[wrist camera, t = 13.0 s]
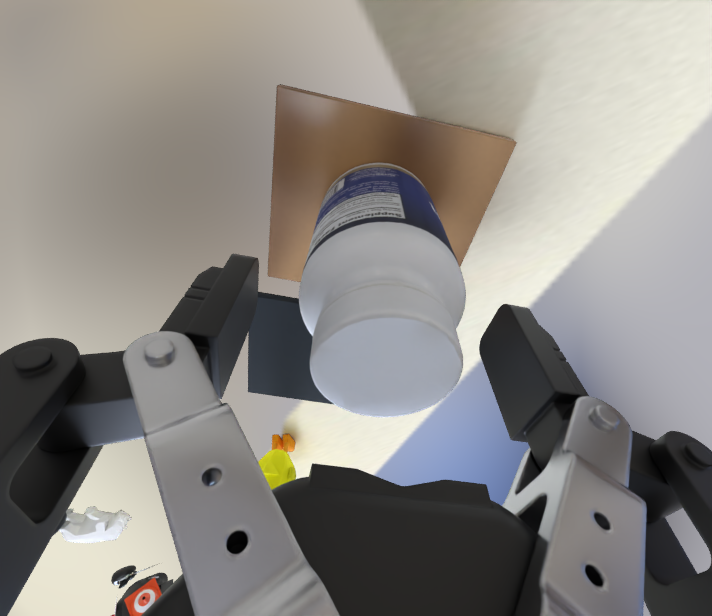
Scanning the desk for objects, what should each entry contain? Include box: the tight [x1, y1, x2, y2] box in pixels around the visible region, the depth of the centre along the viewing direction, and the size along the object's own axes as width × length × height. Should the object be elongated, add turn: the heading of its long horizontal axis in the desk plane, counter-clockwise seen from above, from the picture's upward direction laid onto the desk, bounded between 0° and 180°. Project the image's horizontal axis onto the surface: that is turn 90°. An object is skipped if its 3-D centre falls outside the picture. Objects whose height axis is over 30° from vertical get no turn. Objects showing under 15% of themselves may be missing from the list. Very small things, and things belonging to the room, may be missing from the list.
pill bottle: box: [299, 163, 466, 417], centre depth 13 cm, size 5×5×10 cm
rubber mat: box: [248, 292, 334, 404], centre depth 23 cm, size 10×9×1 cm
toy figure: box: [258, 434, 296, 490], centre depth 25 cm, size 7×4×12 cm, turn 6°
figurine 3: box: [59, 506, 131, 543], centre depth 40 cm, size 2×8×5 cm
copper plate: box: [268, 84, 516, 282], centre depth 17 cm, size 10×9×1 cm
